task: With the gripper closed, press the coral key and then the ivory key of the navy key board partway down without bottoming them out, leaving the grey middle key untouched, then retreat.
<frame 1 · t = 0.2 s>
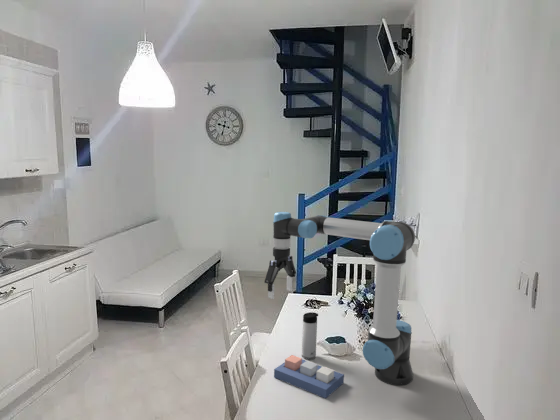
hand: (280, 294, 190), 27 cm above the table, fingers open, 13 cm apart
key grey: (308, 368, 171), point 5 cm above the table, slide at 0.0 cm
key coral: (293, 363, 175), point 5 cm above the table, slide at 0.0 cm
key board: (308, 380, 171), on the table
travel mug: (309, 356, 191), on the table
key ivory: (325, 374, 166), point 5 cm above the table, slide at 0.0 cm
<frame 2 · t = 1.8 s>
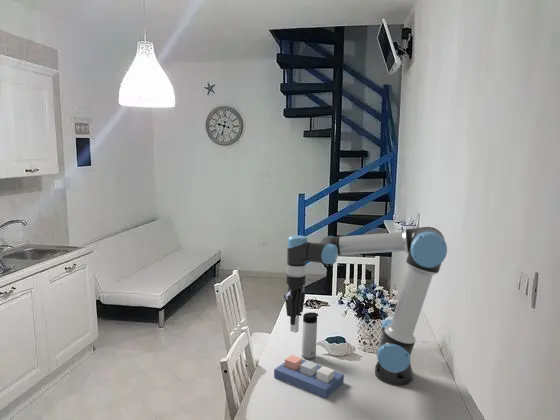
hand: (294, 331, 173), 18 cm above the table, fingers closed
nothing on the table moved.
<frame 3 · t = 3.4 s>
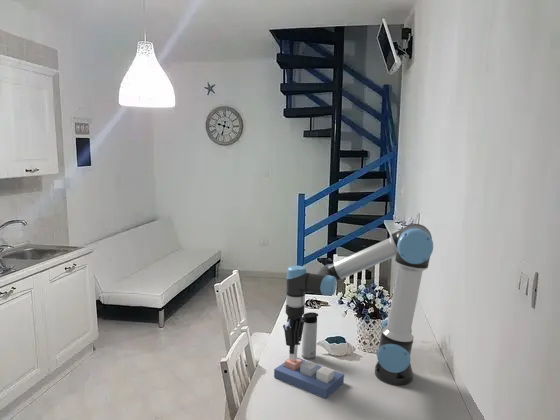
hand: (293, 359, 175), 6 cm above the table, fingers closed
key coral: (293, 364, 175), point 4 cm above the table, slide at 0.7 cm, touching gripper
everything else where it was.
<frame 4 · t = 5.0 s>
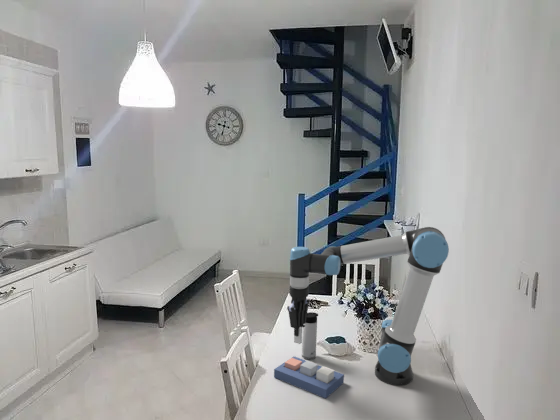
hand: (297, 342, 173), 14 cm above the table, fingers closed
key coral: (293, 365, 175), point 3 cm above the table, slide at 1.3 cm
everything else where it was.
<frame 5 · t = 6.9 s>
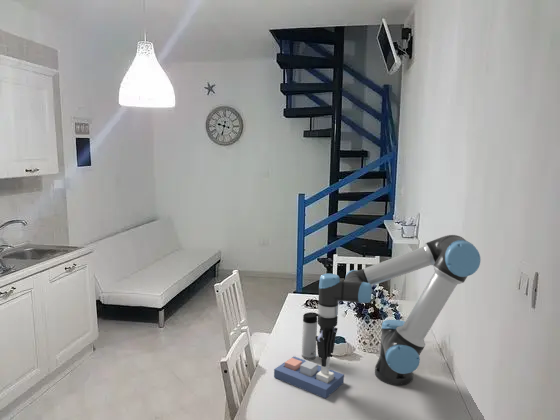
hand: (324, 372, 166), 6 cm above the table, fingers closed
key ivory: (325, 377, 166), point 4 cm above the table, slide at 1.1 cm, touching gripper
everything else where it was.
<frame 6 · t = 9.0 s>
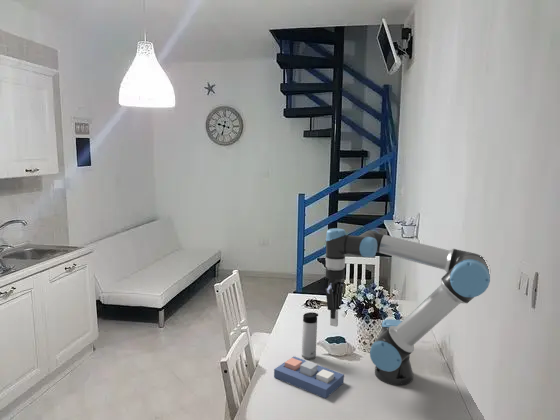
hand: (334, 325, 171), 22 cm above the table, fingers closed
key ivory: (325, 377, 166), point 3 cm above the table, slide at 1.3 cm
everything else where it was.
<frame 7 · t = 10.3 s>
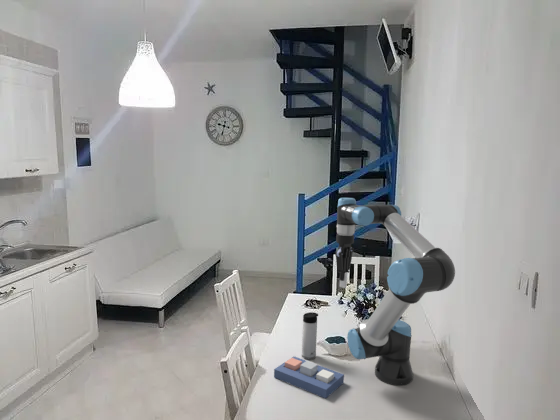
hand: (342, 287, 186), 32 cm above the table, fingers closed
nothing on the table moved.
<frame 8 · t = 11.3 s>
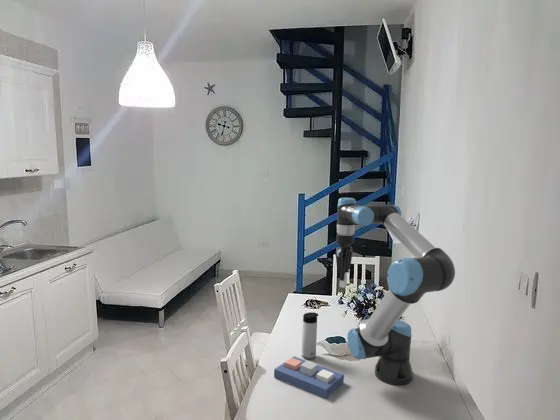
hand: (342, 287, 187), 32 cm above the table, fingers closed
nothing on the table moved.
at the end: key coral slide at 1.3 cm; key ivory slide at 1.3 cm; key grey slide at 0.0 cm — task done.
